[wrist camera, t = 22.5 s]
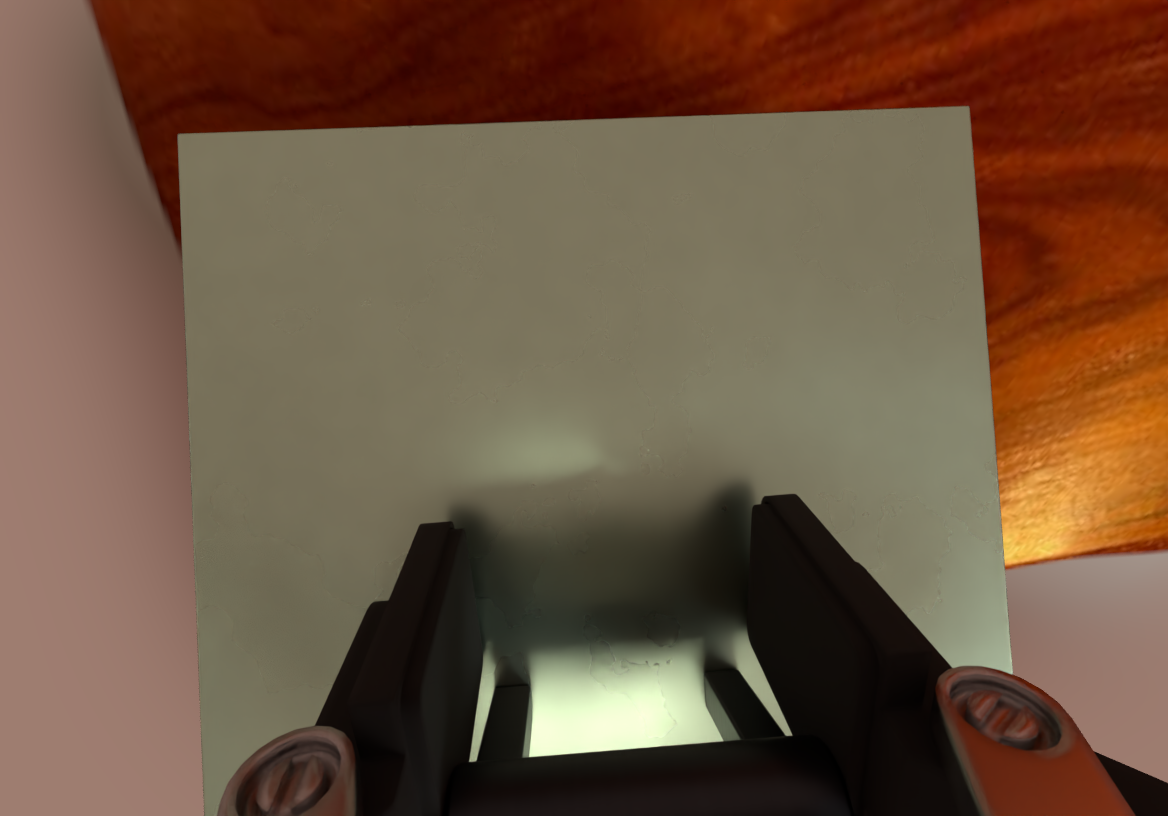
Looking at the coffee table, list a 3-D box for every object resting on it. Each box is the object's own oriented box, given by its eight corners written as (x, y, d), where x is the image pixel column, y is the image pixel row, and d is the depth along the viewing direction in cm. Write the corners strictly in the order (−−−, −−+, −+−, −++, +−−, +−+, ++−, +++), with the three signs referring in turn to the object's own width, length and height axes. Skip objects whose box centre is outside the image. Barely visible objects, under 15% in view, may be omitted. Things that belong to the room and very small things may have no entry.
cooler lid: (991, 759, 12) (1300, 1000, 7) (229, 824, 11) (-32, 1140, 6) (944, 125, 12) (1206, -80, 7) (202, 153, 12) (-65, -50, 7)
